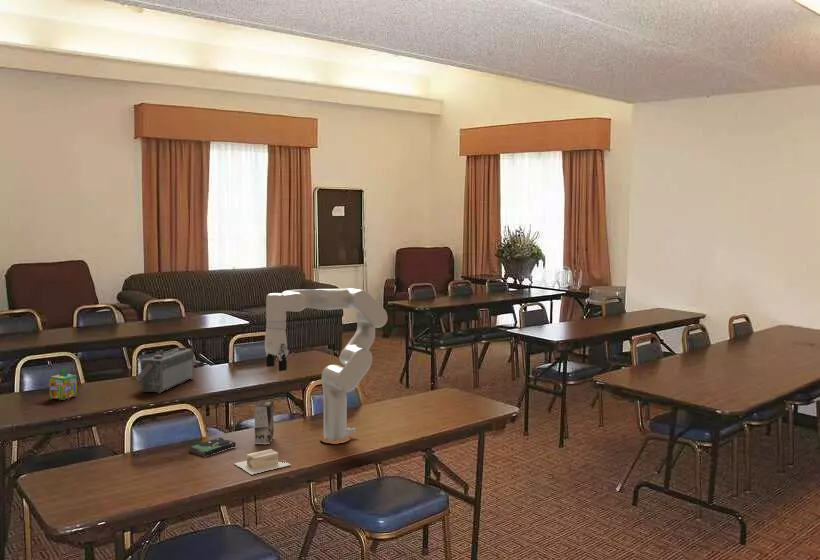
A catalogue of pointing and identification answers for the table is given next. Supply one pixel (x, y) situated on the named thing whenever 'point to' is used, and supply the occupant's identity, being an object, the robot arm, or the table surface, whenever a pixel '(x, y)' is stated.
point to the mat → (261, 469)
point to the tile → (262, 458)
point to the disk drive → (212, 446)
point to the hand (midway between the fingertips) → (276, 368)
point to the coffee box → (264, 421)
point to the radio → (166, 369)
